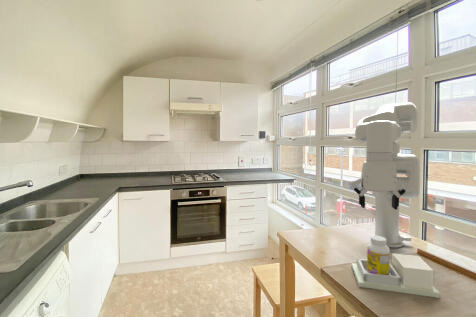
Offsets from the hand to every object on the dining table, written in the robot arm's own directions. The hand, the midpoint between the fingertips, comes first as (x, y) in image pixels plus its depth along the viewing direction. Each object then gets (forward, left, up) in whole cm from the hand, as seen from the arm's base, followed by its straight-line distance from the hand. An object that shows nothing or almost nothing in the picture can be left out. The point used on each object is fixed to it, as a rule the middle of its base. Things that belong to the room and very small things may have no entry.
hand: (378, 207), depth 79 cm
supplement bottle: (0, 0, -24) cm, 24 cm away
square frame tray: (-4, 0, -25) cm, 25 cm away
